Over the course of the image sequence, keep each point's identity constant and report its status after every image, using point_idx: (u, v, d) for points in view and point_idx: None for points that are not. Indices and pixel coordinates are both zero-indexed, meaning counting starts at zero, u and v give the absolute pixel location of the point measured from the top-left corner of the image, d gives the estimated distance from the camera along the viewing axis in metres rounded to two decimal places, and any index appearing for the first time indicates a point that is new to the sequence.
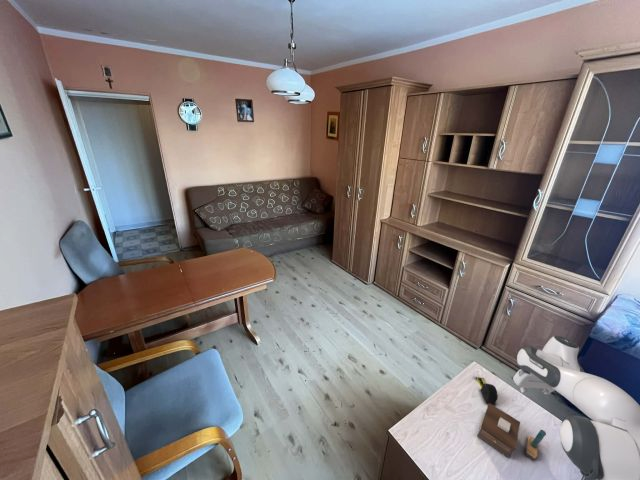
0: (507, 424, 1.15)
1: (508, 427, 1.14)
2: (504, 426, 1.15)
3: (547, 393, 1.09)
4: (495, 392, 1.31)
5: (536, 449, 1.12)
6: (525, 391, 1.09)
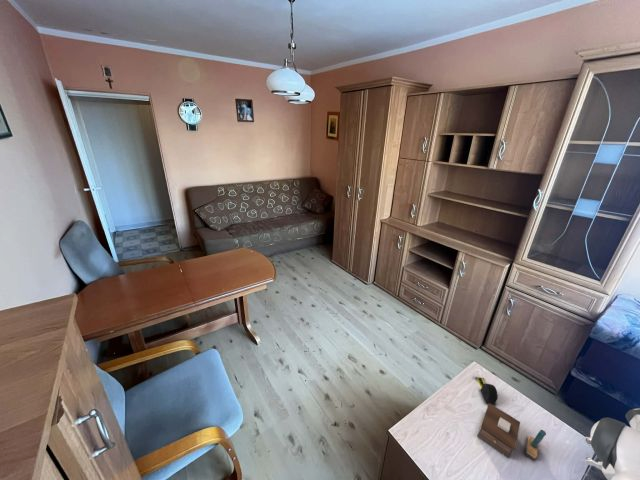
0: (507, 424, 1.15)
1: (508, 427, 1.14)
2: (504, 426, 1.15)
3: (588, 458, 0.97)
4: (495, 392, 1.31)
5: (536, 449, 1.12)
6: (589, 438, 1.03)
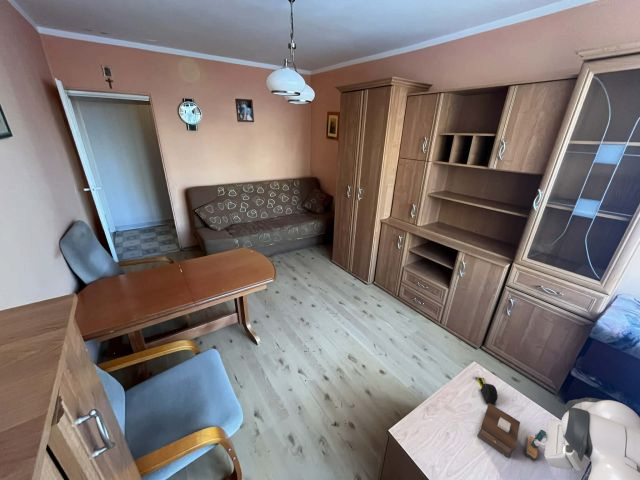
0: (507, 424, 1.15)
1: (508, 427, 1.14)
2: (504, 426, 1.15)
3: (536, 440, 1.11)
4: (495, 392, 1.31)
5: (536, 449, 1.12)
6: None
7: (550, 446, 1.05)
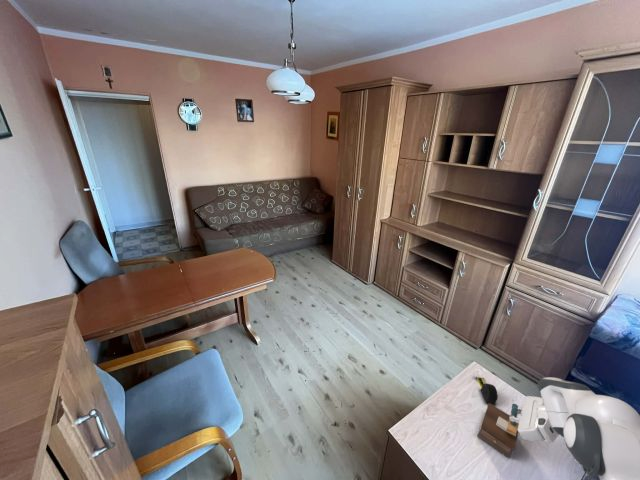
0: (505, 423, 1.16)
1: None
2: (503, 425, 1.15)
3: (511, 416, 1.11)
4: (495, 392, 1.31)
5: (516, 426, 1.12)
6: None
7: (524, 420, 1.05)
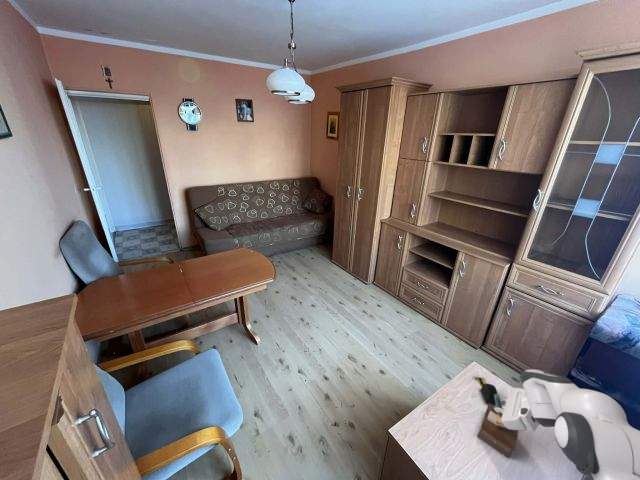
0: (496, 417, 1.18)
1: None
2: (493, 419, 1.17)
3: (496, 406, 1.14)
4: (495, 392, 1.31)
5: None
6: None
7: (507, 410, 1.08)
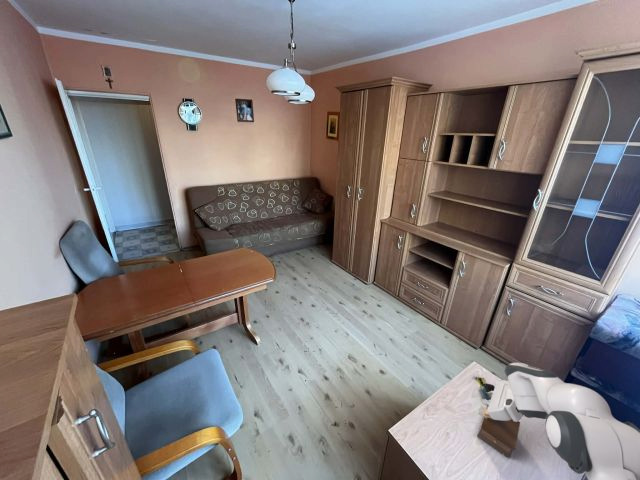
0: None
1: None
2: (484, 413, 1.19)
3: (483, 398, 1.17)
4: None
5: None
6: None
7: (493, 402, 1.11)
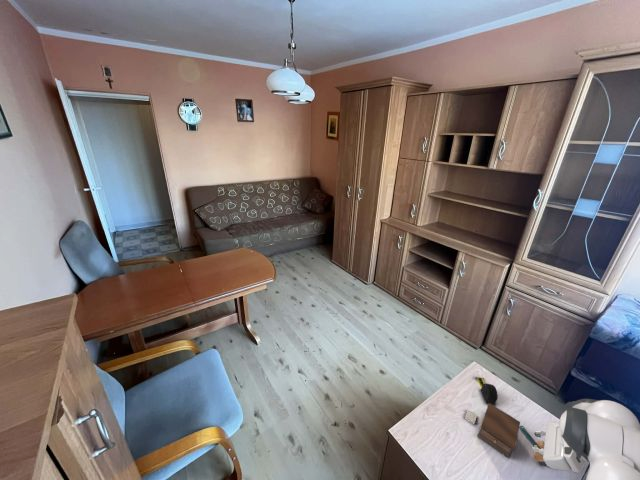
0: None
1: None
2: None
3: (534, 446, 1.10)
4: (495, 392, 1.31)
5: None
6: (537, 432, 1.15)
7: (548, 448, 1.05)
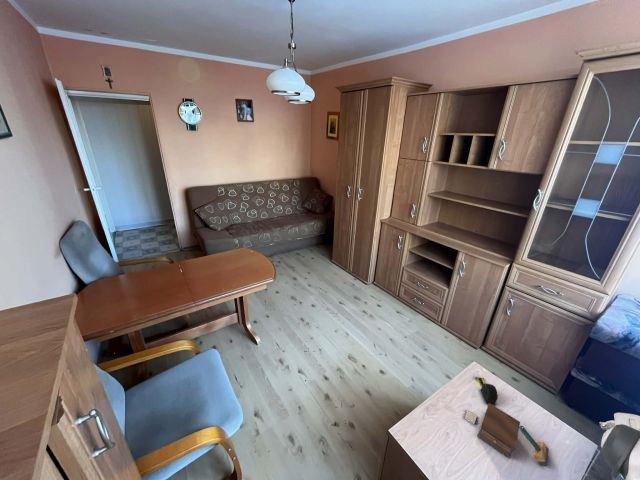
0: None
1: None
2: None
3: None
4: (495, 392, 1.31)
5: (541, 451, 1.11)
6: (603, 423, 0.98)
7: None
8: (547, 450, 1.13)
